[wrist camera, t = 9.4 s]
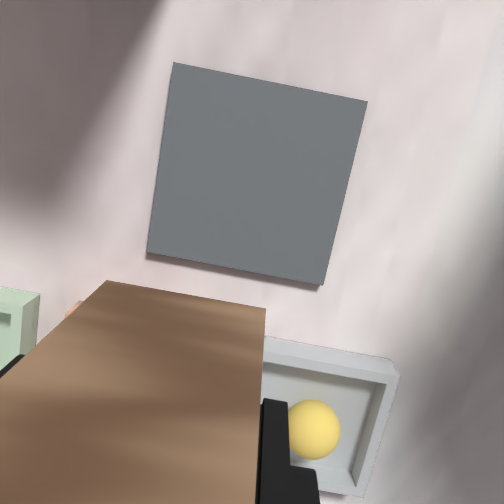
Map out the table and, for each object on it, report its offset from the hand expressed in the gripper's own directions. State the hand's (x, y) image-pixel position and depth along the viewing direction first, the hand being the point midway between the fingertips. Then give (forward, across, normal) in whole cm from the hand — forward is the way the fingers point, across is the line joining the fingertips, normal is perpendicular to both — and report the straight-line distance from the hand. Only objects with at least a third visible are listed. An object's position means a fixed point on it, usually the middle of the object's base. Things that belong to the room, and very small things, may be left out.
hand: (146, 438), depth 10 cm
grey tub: (+17, -7, +9) cm, 20 cm away
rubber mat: (+17, -1, -4) cm, 17 cm away
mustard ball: (+14, -7, +9) cm, 18 cm away
